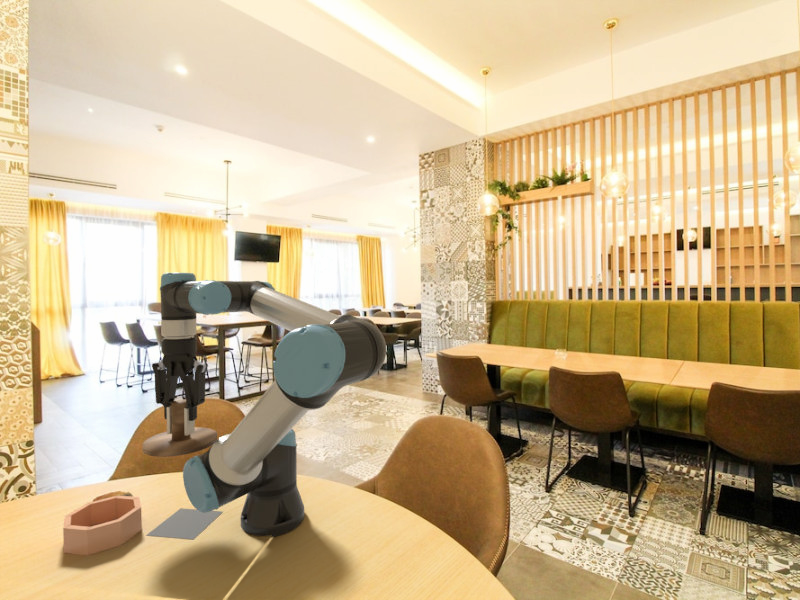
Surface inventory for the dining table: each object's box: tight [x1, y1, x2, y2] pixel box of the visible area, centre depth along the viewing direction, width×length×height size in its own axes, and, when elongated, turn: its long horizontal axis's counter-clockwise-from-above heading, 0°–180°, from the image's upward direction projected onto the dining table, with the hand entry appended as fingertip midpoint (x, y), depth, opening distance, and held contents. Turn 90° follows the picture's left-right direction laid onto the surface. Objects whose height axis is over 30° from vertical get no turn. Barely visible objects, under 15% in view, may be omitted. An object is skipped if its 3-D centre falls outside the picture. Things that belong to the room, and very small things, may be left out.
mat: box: [146, 507, 224, 540], centre depth 102 cm, size 12×12×1 cm
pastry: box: [92, 490, 134, 502], centre depth 112 cm, size 9×7×4 cm
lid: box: [142, 399, 218, 458], centre depth 101 cm, size 16×16×10 cm
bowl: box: [62, 496, 143, 556], centre depth 97 cm, size 14×14×6 cm
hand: (181, 432), depth 101 cm, fingers closed on lid, 4 cm apart
